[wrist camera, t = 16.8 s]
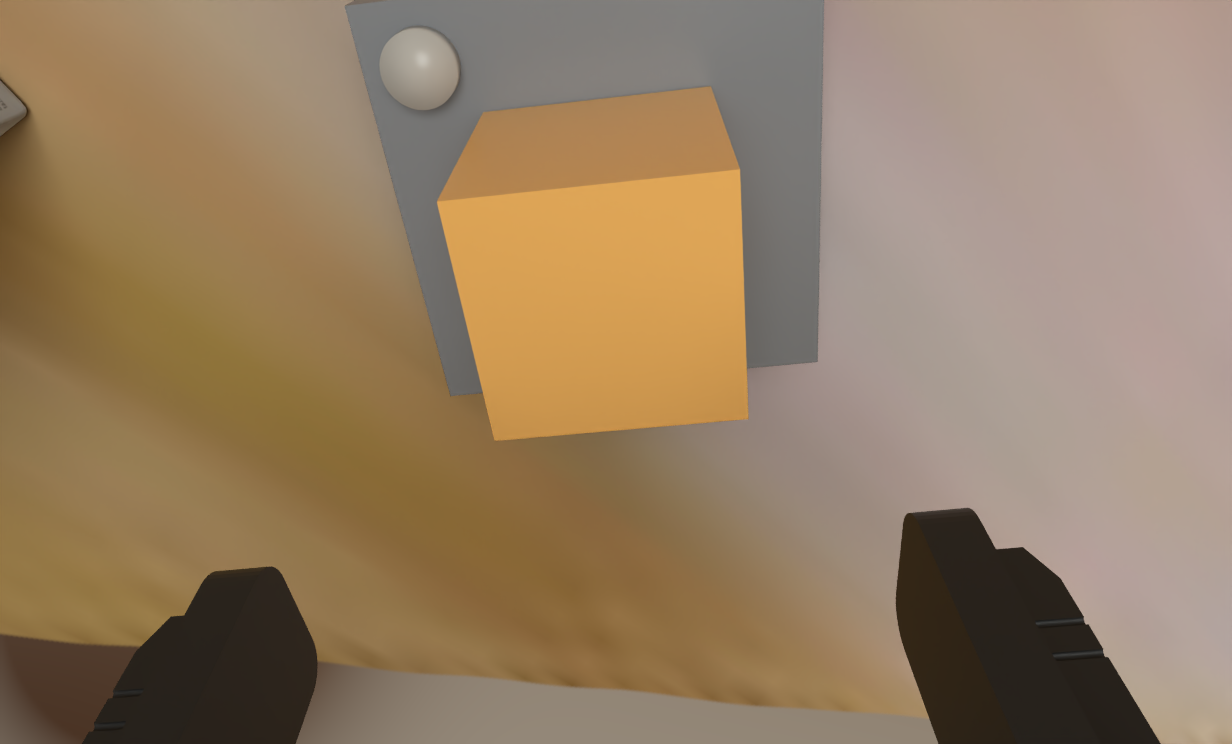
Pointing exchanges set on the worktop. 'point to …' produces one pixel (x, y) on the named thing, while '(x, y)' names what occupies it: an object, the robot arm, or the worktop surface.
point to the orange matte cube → (602, 264)
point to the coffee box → (9, 109)
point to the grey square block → (595, 69)
